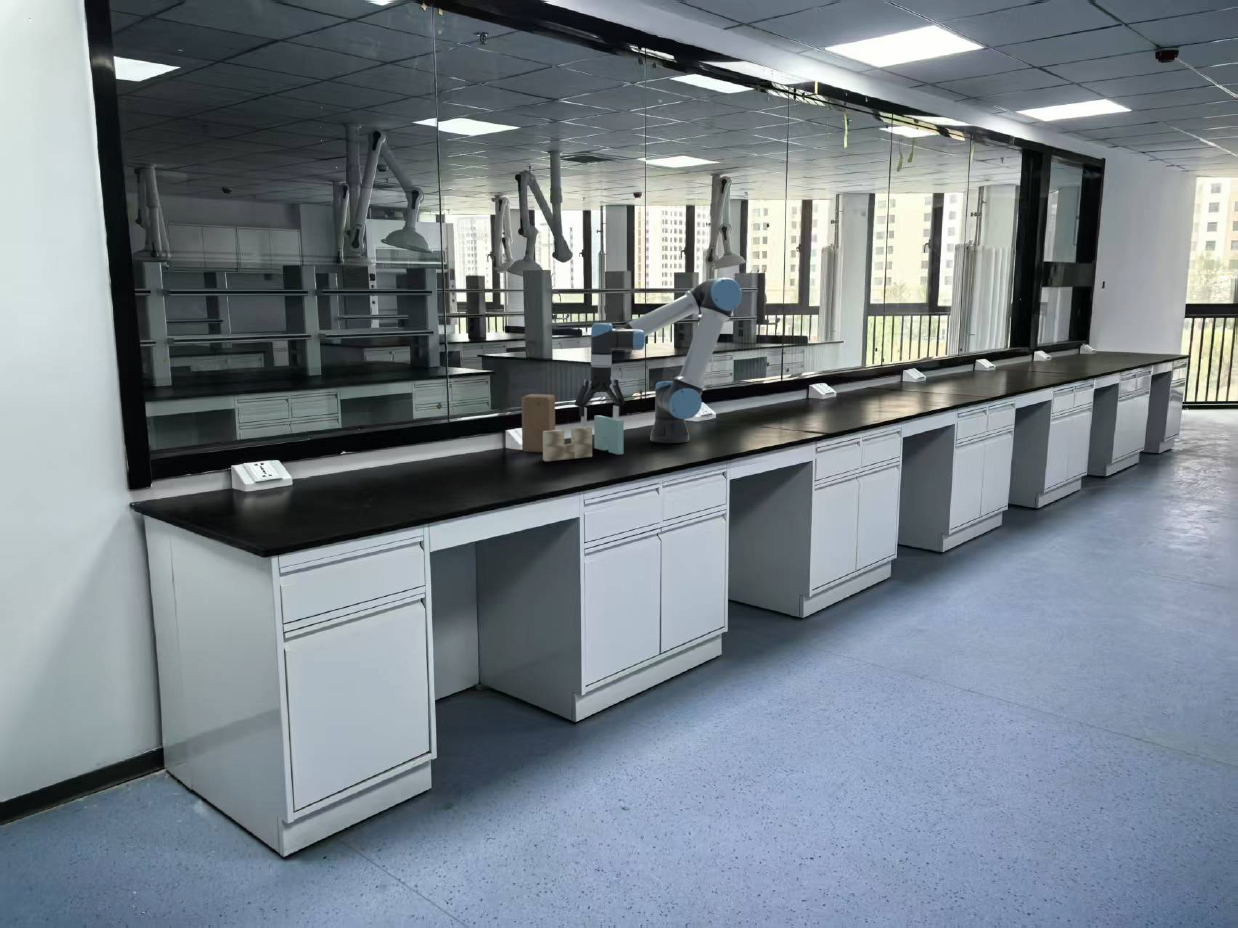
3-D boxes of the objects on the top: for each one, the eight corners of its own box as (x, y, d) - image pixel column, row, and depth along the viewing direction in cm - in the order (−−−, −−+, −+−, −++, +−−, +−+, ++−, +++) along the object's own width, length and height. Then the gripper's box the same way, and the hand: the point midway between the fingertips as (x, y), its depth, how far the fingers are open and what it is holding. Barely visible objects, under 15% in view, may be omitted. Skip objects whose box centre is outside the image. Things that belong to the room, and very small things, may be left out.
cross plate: (594, 448, 328) (594, 415, 326) (600, 447, 329) (600, 415, 327) (617, 454, 314) (617, 420, 312) (623, 453, 316) (623, 420, 313)
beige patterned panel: (588, 455, 312) (588, 427, 310) (592, 456, 310) (592, 428, 308) (543, 460, 302) (542, 431, 300) (546, 461, 300) (546, 431, 298)
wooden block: (548, 453, 316) (547, 397, 313) (521, 452, 318) (520, 396, 315) (555, 448, 326) (555, 394, 322) (529, 447, 328) (529, 393, 324)
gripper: (624, 365, 331) (623, 421, 334) (565, 366, 317) (565, 425, 321) (635, 366, 324) (634, 424, 328) (576, 367, 311) (575, 427, 315)
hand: (599, 424), depth 325 cm, fingers open, 13 cm apart
